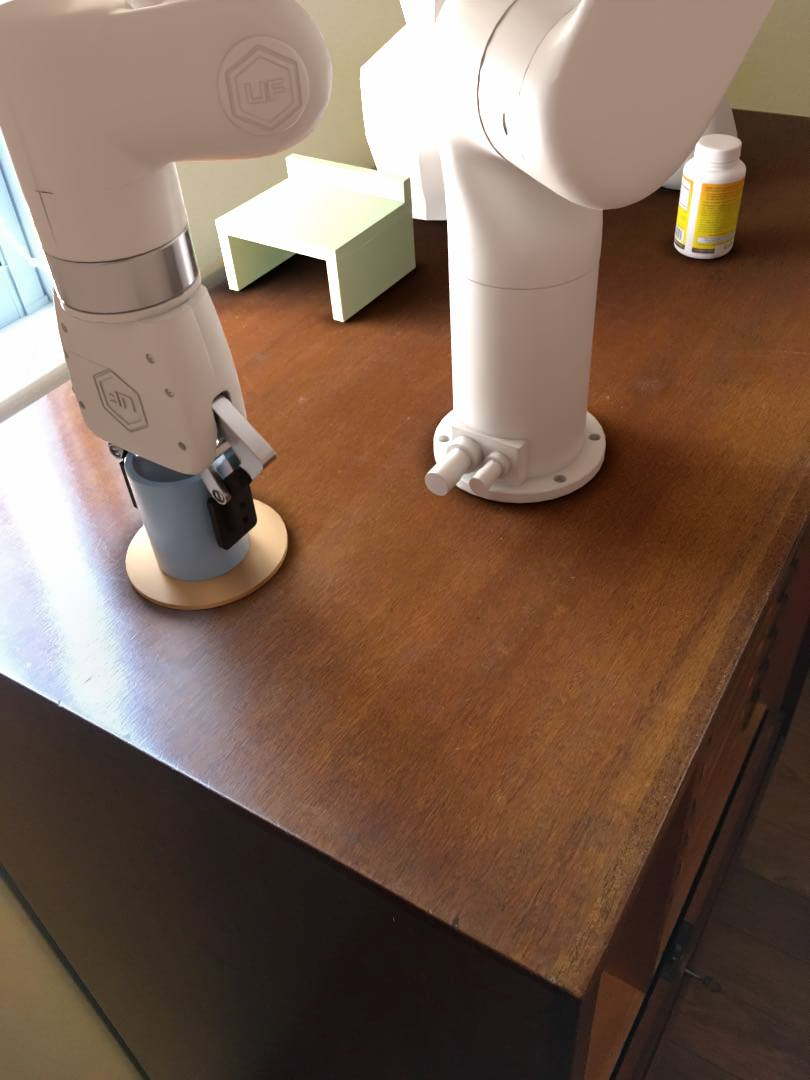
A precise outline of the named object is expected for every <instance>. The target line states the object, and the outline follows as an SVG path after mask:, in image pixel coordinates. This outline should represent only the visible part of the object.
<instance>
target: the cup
mask: <svg viewBox="0 0 810 1080" xmlns="http://www.w3.org/2000/svg"><path fill="white" fill-rule="evenodd" d="M213 464H214V466H215V467H216V469H217V471H218V472H219V474H220V476H221V477H222V479H224V478H225V477H227V476H228V475H229V474H230V473H231V472H233V469H232V468H231V466H230V464H229V463H228V461H227V459H226V458H225V456H224V454H223V455H222V456H220V457H219V458H218V459H216V460H215V461H214V462H213ZM124 468H125V472H126V475H127V478H128V481H129V483H130V486H131V489H132V492H133V495H134V498H135V501H136V504H137V507H138V509H137V510H138V513H139V515H140V519H141V521H142V525H143V526H144V527H145V530H146V533H147V536H148V539H149V542H150V545H151V548H152V551H153V554H154V557H155V559H156V562H157V565H158V567H159V568H160V569H161V570H162V571H163V572H164V573H165V574H166V575H168V576H170V577H172V578H174V579H178V580H183V581H203V580H208V579H212V578H215V577H218V576H220V575H223V574H225V573H227V572H228V571H230V570H231V569H233V568H234V567H236V566H237V565H238V564H239V563H240V562H241V561H242V560H243V558H244V557H245V556H246V554H247V552H248V549H249V545H250V537H249V533H247V534H246V535H245V536H243V537H242V538H241V539H240V540H239V541H238V542H237V543H236V544H234V545H233V546H232V547H231V548H230V549H229V550H225V549H222V548H220V547H219V546H218V544H217V540H216V537H215V533H214V529H213V526H212V522H211V518H210V514H209V511H208V507H207V501H208V499H209V498H210V497H211V496H212V495H211V493H210V492H209V490H208V489H207V487H206V485H205V484H204V482H203V480H202V479H201V477H200V476H199V474H198V475H189V474H184V473H180V472H177V471H174V470H172V469H169V468H167V467H164V466H162V465H159V464H157V463H155V462H152V461H150V460H147V459H145V458H143V457H140V456H138V455H136V454H133V453H131V452H128V453H127V455H126V458H125V462H124Z"/></svg>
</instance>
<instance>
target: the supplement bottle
mask: <svg viewBox="0 0 810 1080" xmlns="http://www.w3.org/2000/svg"><path fill="white" fill-rule="evenodd" d="M742 145H743V142H742V141H741V139H740V138H739V137H737V138H736V137H734V136H730V135H724V134H712V135H706V136H703V137H701V138H700V140H699V141H698V143H697V144H696V148H695V152H694V154H695V155H694V158H692V159H690V160H689V161H688V162H687V163H686V164H685V166H684V170H683V177H682V184H681V190H680V192H679V199H678V207H677V215H676V223H675V231H674V237H673V238H674V239H673V245H674V248H675V249H676V251H677V252H679V253H680V254H681V255H683V256H685V257H688V258H693V259H697V260H698V259H700V260H712V259H717V258H720V257H722V256H725V255H727V254H728V253H729V252H730V251H731V250H732V248H733V246H734V242H735V235H736V230H737V224H738V218H739V213H740V208H741V204H742V203H741V202H742V198H743V197H742V196H743V190H744V185H745V180H746V174H747V167H746V164H745V163H744V162H743V160H742V159H740V157H741V151H742Z"/></svg>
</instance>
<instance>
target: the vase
mask: <svg viewBox="0 0 810 1080" xmlns="http://www.w3.org/2000/svg"><path fill="white" fill-rule="evenodd" d="M445 1H446V0H399V2H400V5H401V8H402V12H403V15H404V18H405V22H406V24H405V25H404V26H403V27H402V28H401V29H400V30H399V31H398V32H397V33H395V34H394V35H393V36H392V37H391V38H390V40H388V41H387V42H386V43H385V44H384V45H383V46H382V47H381V48H380V49H378V51H376V53H374V54H373V56H372V57H370V59H368V60H367V61H366V62H365V63H364V64H363V65H362V66H361V67H360V77H359V81H360V91H361V92H360V93H361V102H362V114H363V122H364V130H365V137H366V140H367V144H368V146H369V148H370V149H369V150H370V152H371V155H372V157H373V160H374V163H375V166H376V170H377V171H382V172H387V173H392V174H397V175H402V176H407V177H410V182H411V198H412V215H413V219H416V220H424V221H447V208H446V195H445V185H444V176H443V168H442V161H441V155H440V150H439V144H438V139H437V133H436V128H435V122H434V117H433V111H432V105H431V98H430V89H429V67H428V65H429V51H430V43H431V38H432V34H433V30H434V26H435V23H436V20H437V18H438V15H439V13H440V11H441V9H442V7H443V5H444V3H445Z"/></svg>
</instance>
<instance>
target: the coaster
mask: <svg viewBox="0 0 810 1080" xmlns="http://www.w3.org/2000/svg"><path fill="white" fill-rule="evenodd" d="M253 502H254V506H255V511H256V515H257V524H256V525H255V527H254V528H252V529H251V530H250V531H249V532H248V533H249V537H250V545H249V549H248V552H247V554H246V556H245V557H244V558H243V560H242V561H241V562H240V563H239V564H238V565H237V566H236V567H234V568H233V569H231V570H230V571H228V572H227V573H225V574H223V575H220V576H218V577H215V578H212V579H208V580H203V581H183V580H178V579H174V578H172V577H170V576H168V575H166V574H165V573H164V572H163V571H162V570H161V569H160V568H159V567H158V565H157V562H156V559H155V557H154V554H153V551H152V548H151V545H150V542H149V539H148V536H147V533H146V530H145V527H144V525H143V526H141V528H139V530H138V531H137V532H136V533H135V535H134V536H133V538H132V540H131V541H130V543H129V545H128V548H127V551H126V554H125V561H124V562H125V571H126V575H127V577H128V580H129V582H130V584H131V585H132V587H133V588H134V590H135V591H136V592H137V593H138V594H139V595H141V596H142V597H143V598H145V599H146V600H148V602H151V603H154V604H155V605H158V606H161V607H165V608H168V609H175V610H184V611H194V610H195V611H196V610H197V611H198V610H206V609H213V608H217V607H221V606H225V605H228V604H231V603H234V602H236V601H238V600H239V601H240V600H241V599H244V598H245V597H247V596H249V595H251V594H252V593H254V592H256V591H257V590H259V589H260V588H261V587H263V586H264V585H265V584H267V583H268V582H269V581H270V580H271V579H272V578H273V577H274V575H276V573H277V572H278V571H279V569H280V568H281V566H282V565H283V563H284V561H285V559H286V556H287V553H288V548H289V534H288V531H287V526H286V524H285V522H284V520H283V518H282V517H281V515H280V514H279V513H278V512H276V511H275V509H274V508H272V507H271V506H270V505H268V504H266V503H265V502H262V501H260V500H258V499H255V498H253Z"/></svg>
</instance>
